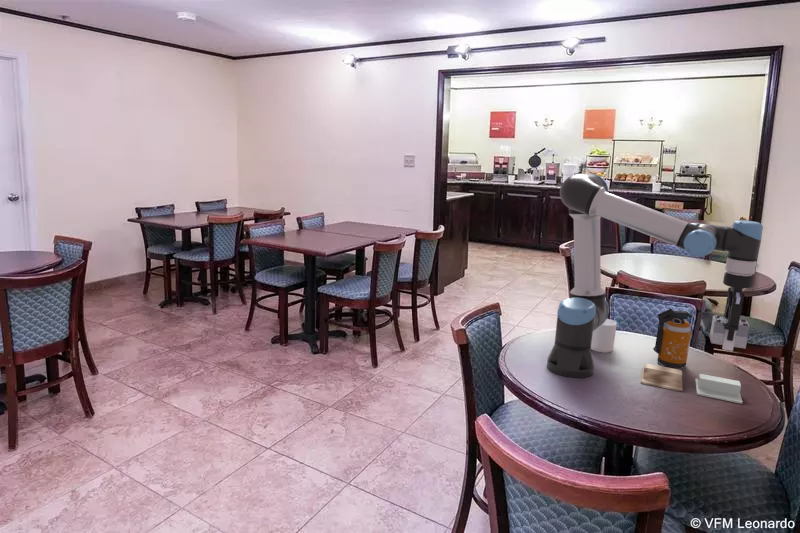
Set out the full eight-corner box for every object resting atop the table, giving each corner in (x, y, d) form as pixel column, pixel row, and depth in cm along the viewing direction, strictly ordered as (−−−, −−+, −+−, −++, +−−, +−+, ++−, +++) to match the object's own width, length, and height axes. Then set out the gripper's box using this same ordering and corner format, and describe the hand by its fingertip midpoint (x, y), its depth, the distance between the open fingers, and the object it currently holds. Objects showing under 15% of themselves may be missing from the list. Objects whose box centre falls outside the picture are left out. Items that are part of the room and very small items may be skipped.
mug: (622, 348, 203) (625, 321, 200) (605, 355, 195) (608, 326, 193) (601, 341, 209) (604, 314, 207) (584, 347, 202) (587, 320, 199)
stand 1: (640, 383, 173) (642, 371, 172) (642, 369, 183) (643, 358, 182) (682, 391, 168) (684, 379, 167) (681, 377, 178) (683, 366, 177)
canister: (688, 371, 183) (698, 315, 179) (654, 367, 185) (662, 312, 181) (681, 361, 192) (690, 307, 187) (648, 358, 194) (656, 304, 189)
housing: (711, 343, 164) (715, 319, 162) (709, 336, 170) (713, 314, 168) (745, 348, 160) (750, 325, 159) (742, 342, 166) (747, 319, 164)
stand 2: (696, 394, 166) (699, 382, 165) (695, 380, 176) (697, 368, 176) (742, 403, 161) (744, 391, 160) (737, 388, 171) (739, 376, 171)
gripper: (759, 281, 150) (744, 359, 155) (749, 268, 167) (736, 338, 172) (728, 278, 153) (714, 354, 158) (722, 265, 170) (710, 334, 175)
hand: (726, 345), depth 165 cm, fingers closed on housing, 6 cm apart
